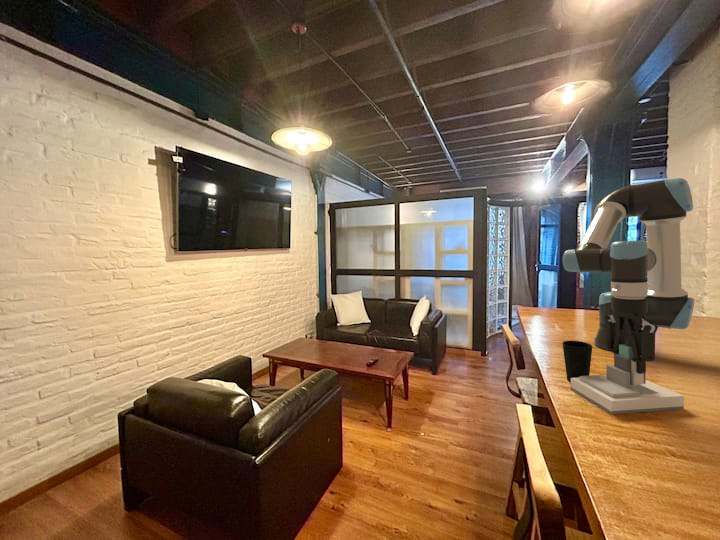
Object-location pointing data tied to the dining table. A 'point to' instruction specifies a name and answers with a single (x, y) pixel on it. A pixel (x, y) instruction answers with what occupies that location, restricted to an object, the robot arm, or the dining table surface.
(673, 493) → the dining table surface
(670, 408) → the socket board
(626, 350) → the plug
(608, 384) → the panel
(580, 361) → the cup
